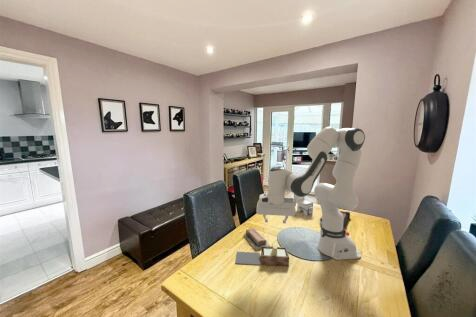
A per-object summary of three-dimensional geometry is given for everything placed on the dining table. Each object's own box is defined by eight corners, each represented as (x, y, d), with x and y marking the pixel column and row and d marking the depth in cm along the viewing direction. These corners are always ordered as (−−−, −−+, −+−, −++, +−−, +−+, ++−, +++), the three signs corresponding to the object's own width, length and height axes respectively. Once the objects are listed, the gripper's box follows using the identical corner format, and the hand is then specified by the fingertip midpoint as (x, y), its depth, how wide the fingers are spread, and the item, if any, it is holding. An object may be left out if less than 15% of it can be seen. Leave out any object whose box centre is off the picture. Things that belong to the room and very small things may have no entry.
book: (326, 213, 169) (326, 207, 168) (349, 218, 159) (350, 212, 158) (318, 224, 148) (318, 218, 147) (344, 231, 138) (344, 225, 137)
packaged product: (243, 229, 132) (256, 226, 136) (243, 236, 133) (256, 233, 136) (255, 243, 115) (270, 239, 119) (255, 251, 116) (270, 247, 120)
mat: (259, 253, 113) (259, 252, 113) (260, 265, 103) (260, 264, 103) (237, 252, 114) (237, 251, 114) (235, 263, 105) (235, 263, 105)
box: (286, 255, 112) (286, 247, 111) (288, 266, 103) (289, 257, 102) (261, 254, 113) (261, 245, 112) (261, 264, 104) (262, 256, 103)
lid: (284, 250, 110) (284, 242, 109) (286, 258, 103) (286, 249, 103) (263, 249, 111) (263, 241, 110) (264, 257, 104) (264, 248, 104)
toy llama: (307, 217, 160) (309, 193, 157) (293, 209, 175) (294, 187, 172) (314, 215, 163) (316, 192, 160) (299, 208, 178) (300, 186, 176)
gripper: (295, 196, 105) (294, 220, 107) (256, 194, 107) (256, 218, 109) (297, 200, 99) (296, 226, 101) (256, 198, 101) (256, 224, 103)
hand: (275, 222), depth 105 cm, fingers open, 8 cm apart
